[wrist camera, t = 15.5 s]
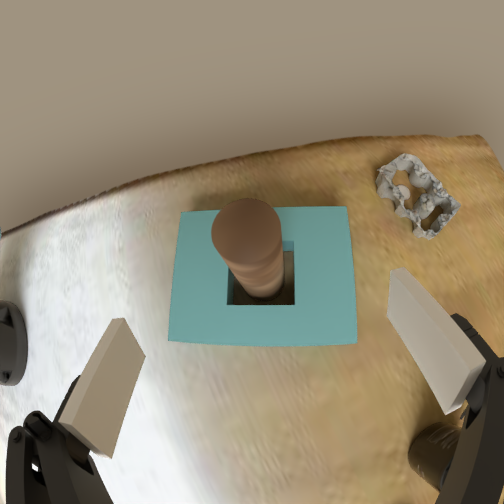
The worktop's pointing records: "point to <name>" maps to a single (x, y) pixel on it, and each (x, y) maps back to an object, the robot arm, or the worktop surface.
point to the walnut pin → (251, 246)
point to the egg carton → (425, 202)
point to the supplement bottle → (434, 453)
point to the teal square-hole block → (267, 316)
